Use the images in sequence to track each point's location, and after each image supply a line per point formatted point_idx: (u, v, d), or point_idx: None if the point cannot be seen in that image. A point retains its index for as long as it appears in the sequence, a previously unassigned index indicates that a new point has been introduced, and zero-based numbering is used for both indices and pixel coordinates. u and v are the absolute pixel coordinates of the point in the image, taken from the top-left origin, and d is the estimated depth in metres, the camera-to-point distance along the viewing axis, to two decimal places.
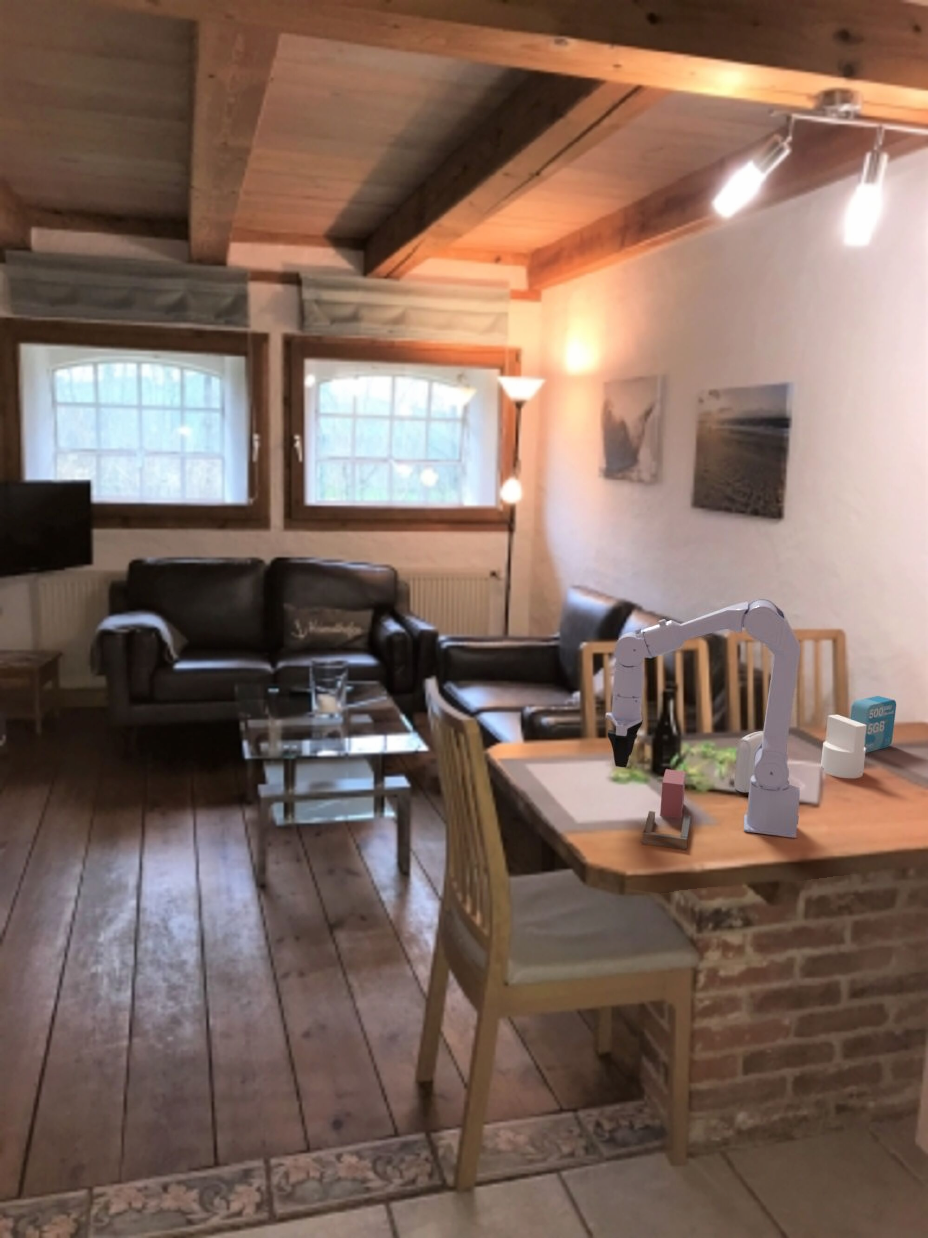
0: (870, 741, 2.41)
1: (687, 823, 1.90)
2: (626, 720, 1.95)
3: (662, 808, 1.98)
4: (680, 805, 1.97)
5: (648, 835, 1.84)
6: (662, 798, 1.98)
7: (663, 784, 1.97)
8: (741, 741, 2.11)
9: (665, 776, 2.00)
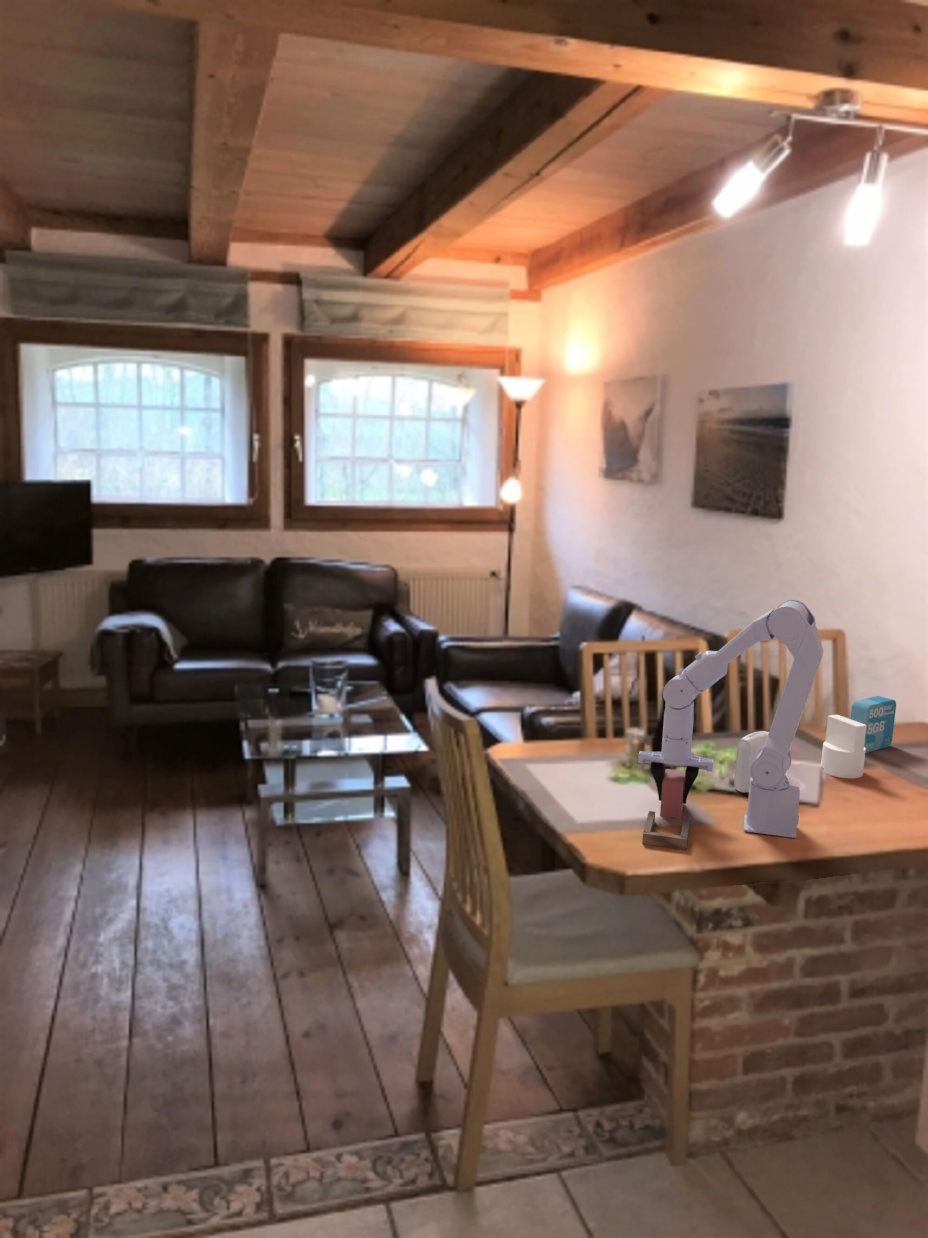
0: (870, 741, 2.41)
1: (687, 823, 1.90)
2: (660, 756, 2.00)
3: (662, 808, 1.98)
4: (680, 805, 1.97)
5: (648, 835, 1.84)
6: (662, 798, 1.98)
7: (663, 783, 1.97)
8: (741, 741, 2.11)
9: (665, 776, 2.00)
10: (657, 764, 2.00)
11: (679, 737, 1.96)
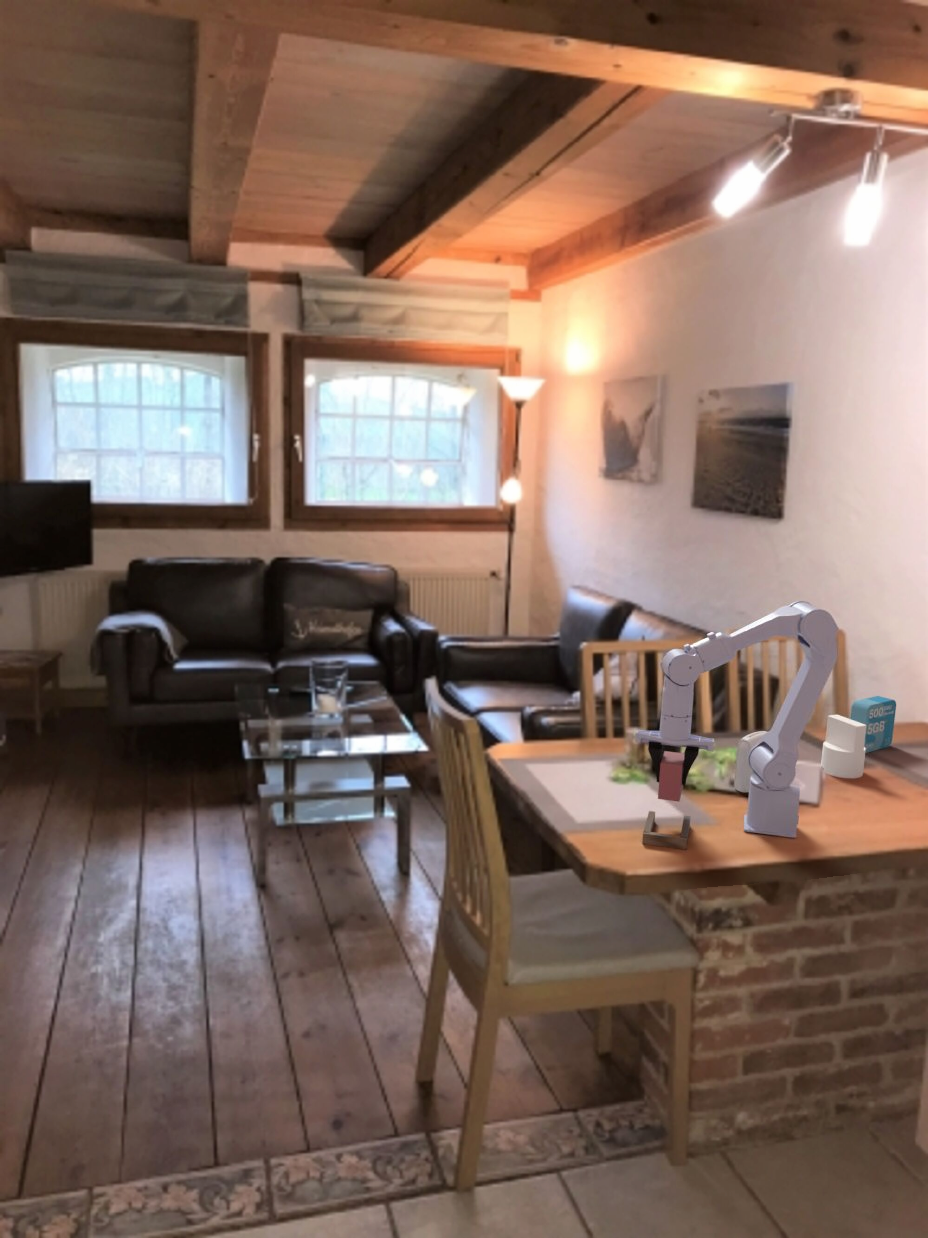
0: (870, 741, 2.41)
1: (687, 823, 1.90)
2: (658, 735, 1.90)
3: (660, 790, 1.89)
4: (679, 787, 1.87)
5: (648, 835, 1.84)
6: (660, 780, 1.88)
7: (661, 765, 1.88)
8: (741, 741, 2.11)
9: (663, 757, 1.91)
10: (655, 744, 1.90)
11: (685, 715, 1.86)
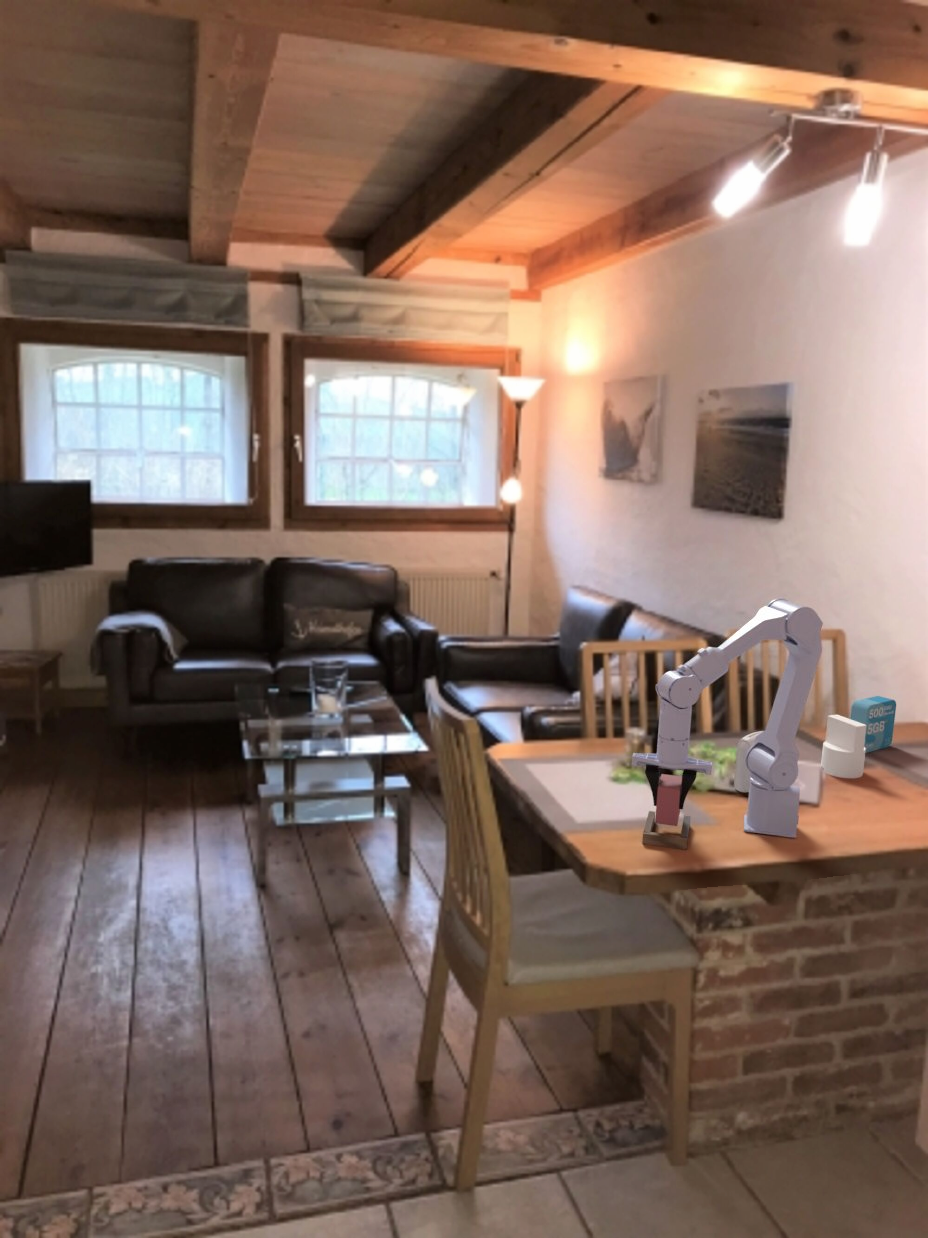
0: (870, 741, 2.41)
1: (687, 823, 1.90)
2: (655, 758, 1.87)
3: (657, 815, 1.85)
4: (676, 812, 1.84)
5: (648, 835, 1.84)
6: (657, 804, 1.85)
7: (658, 789, 1.85)
8: (741, 741, 2.11)
9: (661, 781, 1.88)
10: (652, 767, 1.87)
11: (685, 737, 1.83)
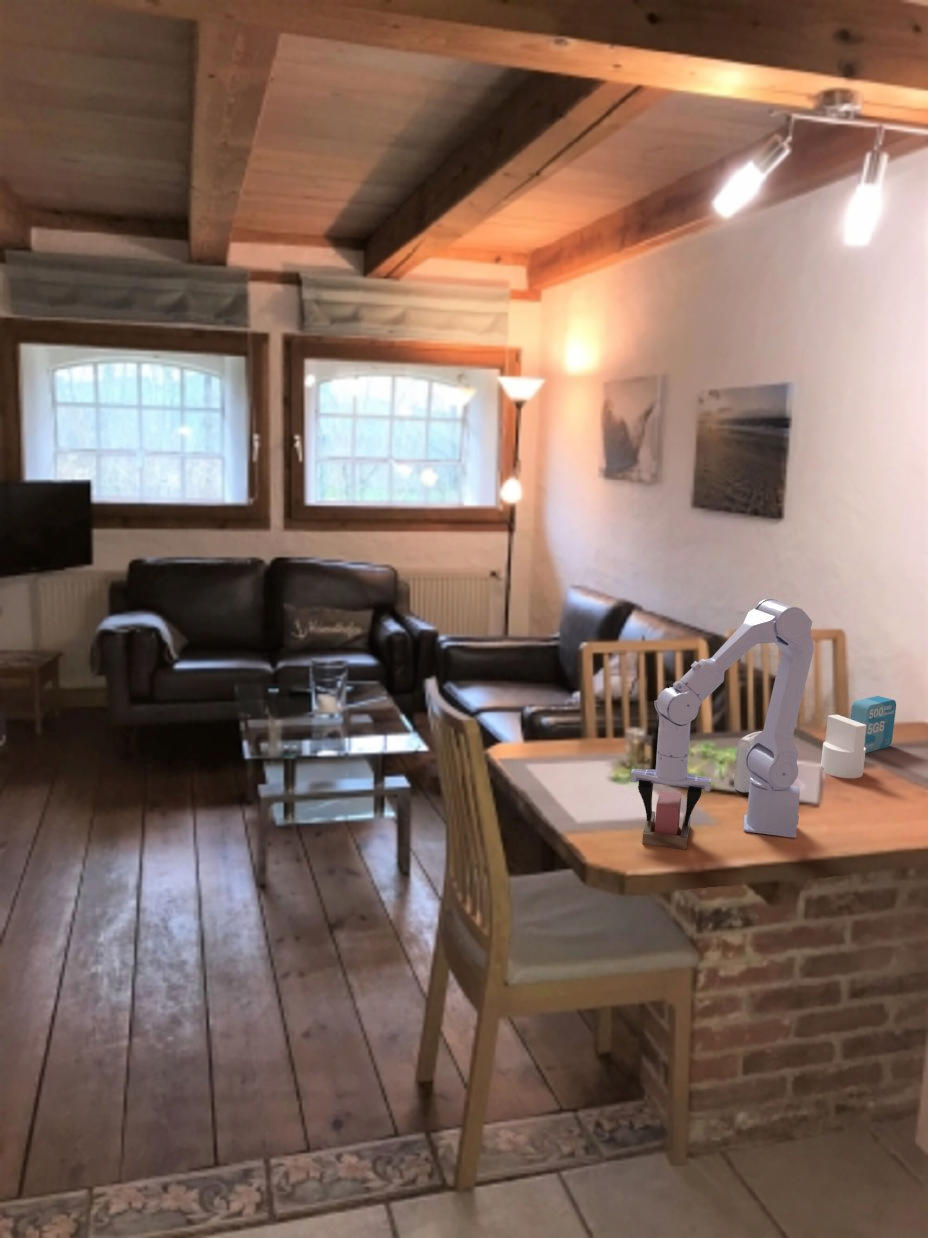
0: (870, 741, 2.41)
1: None
2: (654, 774, 1.87)
3: (656, 832, 1.86)
4: (675, 829, 1.85)
5: (648, 835, 1.84)
6: (656, 822, 1.86)
7: (657, 807, 1.85)
8: (741, 741, 2.11)
9: (659, 798, 1.88)
10: (651, 783, 1.87)
11: (684, 754, 1.84)
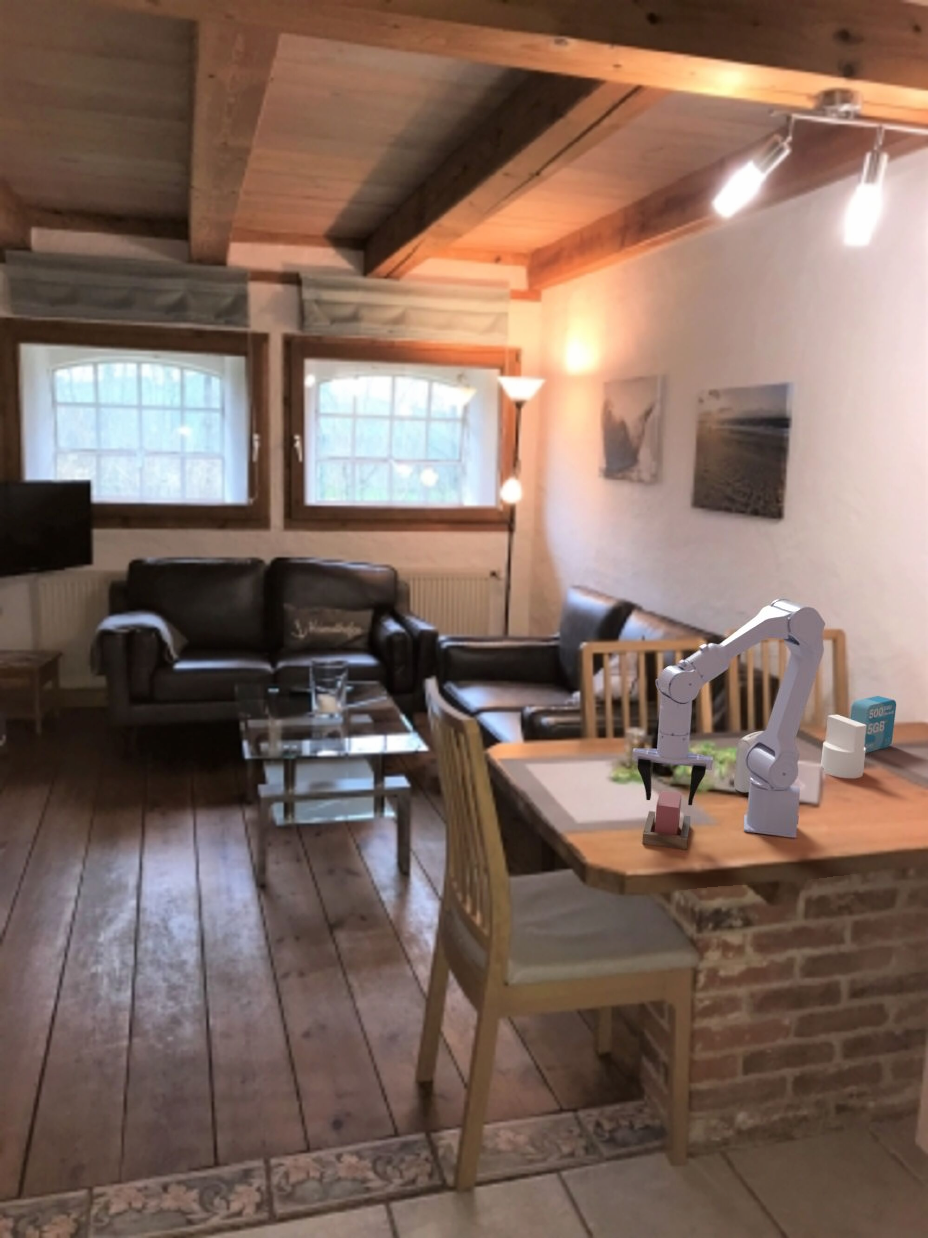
0: (870, 741, 2.41)
1: (687, 823, 1.90)
2: (656, 753, 1.87)
3: (656, 832, 1.86)
4: (675, 829, 1.85)
5: (648, 835, 1.84)
6: (656, 822, 1.86)
7: (657, 807, 1.85)
8: (741, 741, 2.11)
9: (659, 798, 1.88)
10: (652, 762, 1.87)
11: (685, 732, 1.83)
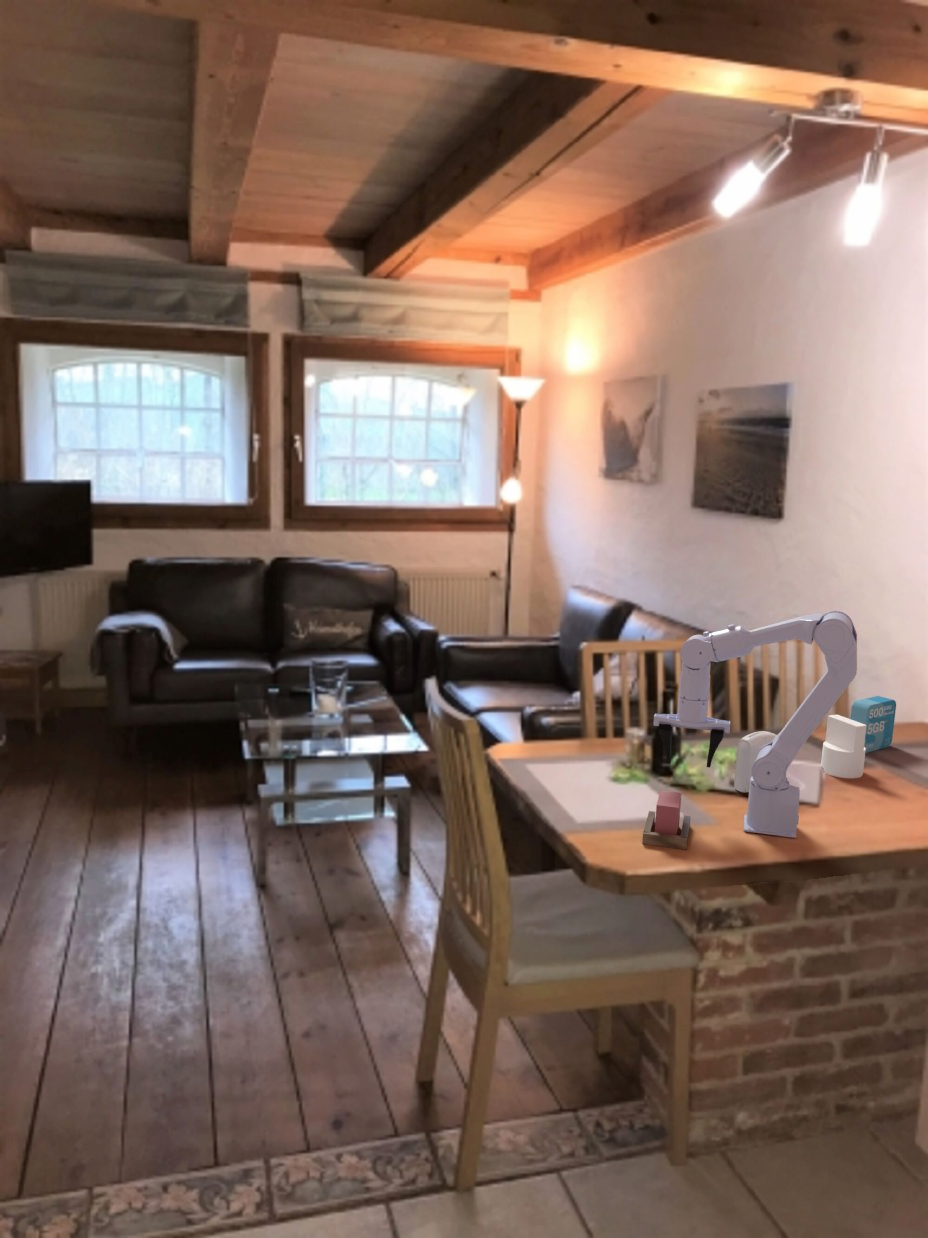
0: (870, 741, 2.41)
1: (687, 823, 1.90)
2: (676, 718, 1.96)
3: (656, 832, 1.86)
4: (675, 829, 1.85)
5: (648, 835, 1.84)
6: (656, 822, 1.86)
7: (657, 807, 1.85)
8: (741, 741, 2.11)
9: (659, 798, 1.88)
10: (673, 726, 1.96)
11: (696, 698, 1.92)
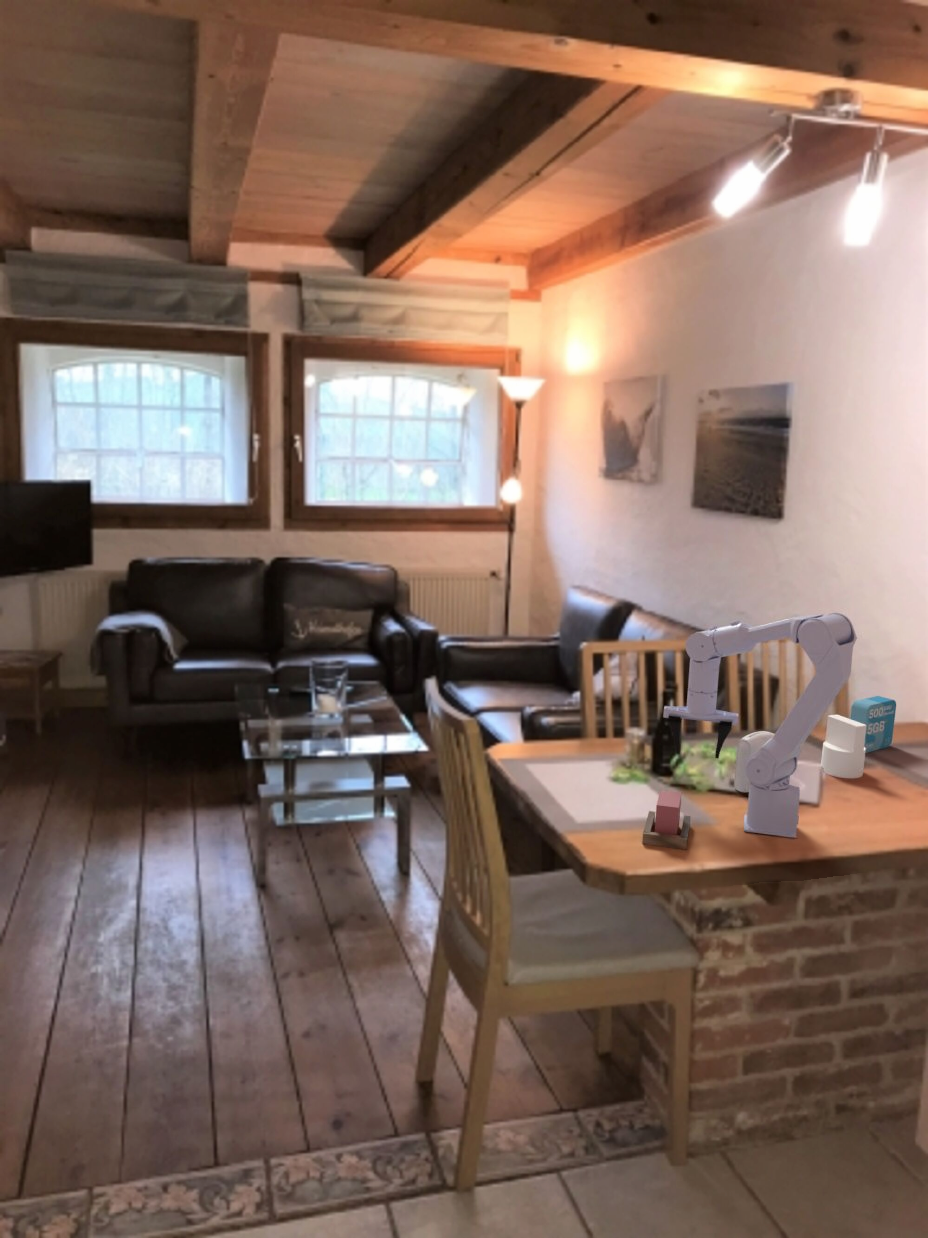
0: (870, 741, 2.41)
1: (687, 823, 1.90)
2: (685, 710, 2.02)
3: (656, 832, 1.86)
4: (675, 829, 1.85)
5: (648, 835, 1.84)
6: (656, 822, 1.86)
7: (657, 807, 1.85)
8: (741, 741, 2.11)
9: (659, 798, 1.88)
10: (682, 718, 2.02)
11: (699, 690, 1.98)
